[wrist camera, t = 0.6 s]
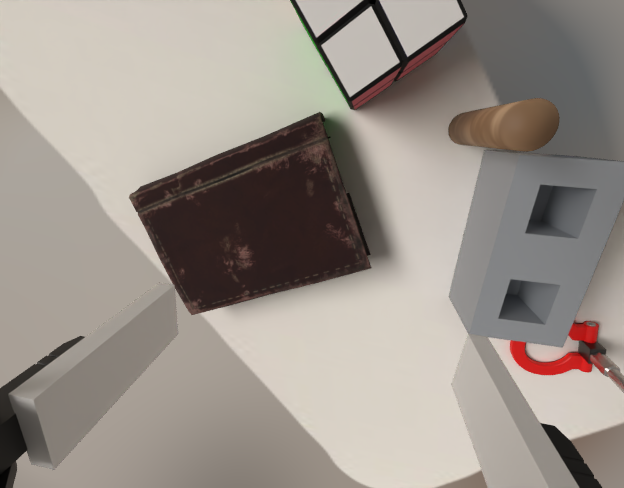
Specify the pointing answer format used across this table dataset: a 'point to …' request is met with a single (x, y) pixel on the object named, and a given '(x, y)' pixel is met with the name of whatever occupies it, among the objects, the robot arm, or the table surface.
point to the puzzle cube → (377, 39)
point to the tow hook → (573, 356)
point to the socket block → (533, 243)
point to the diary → (255, 220)
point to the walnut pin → (507, 126)
